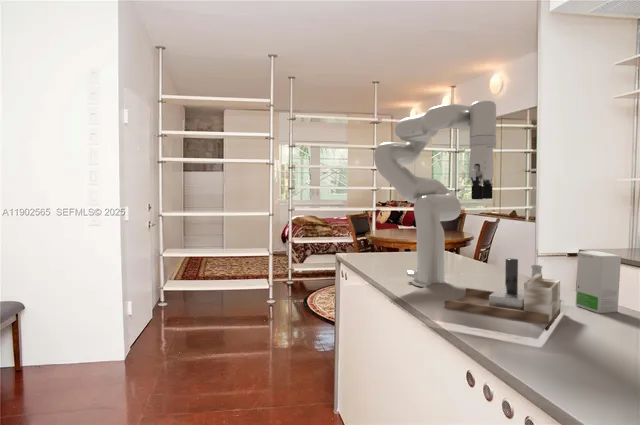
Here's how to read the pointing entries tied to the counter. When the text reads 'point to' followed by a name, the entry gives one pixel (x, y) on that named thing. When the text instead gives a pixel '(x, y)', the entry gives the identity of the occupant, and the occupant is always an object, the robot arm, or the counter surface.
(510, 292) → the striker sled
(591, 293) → the skincare box
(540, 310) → the wooden tray
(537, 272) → the flask
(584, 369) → the counter surface
